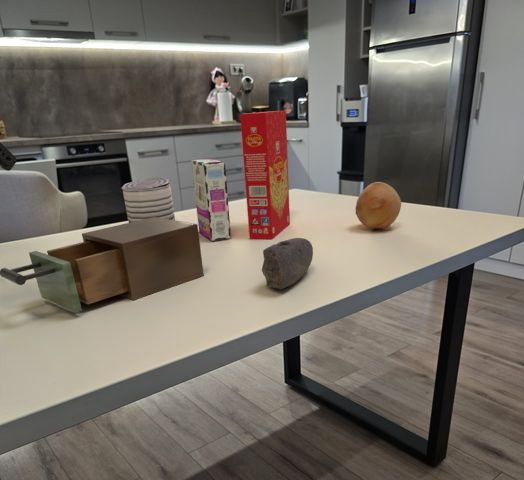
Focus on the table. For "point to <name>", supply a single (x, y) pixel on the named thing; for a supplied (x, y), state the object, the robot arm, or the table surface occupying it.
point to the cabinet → (154, 253)
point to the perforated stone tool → (286, 262)
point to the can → (148, 199)
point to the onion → (378, 205)
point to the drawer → (75, 274)
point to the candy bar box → (211, 198)
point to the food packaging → (266, 172)
